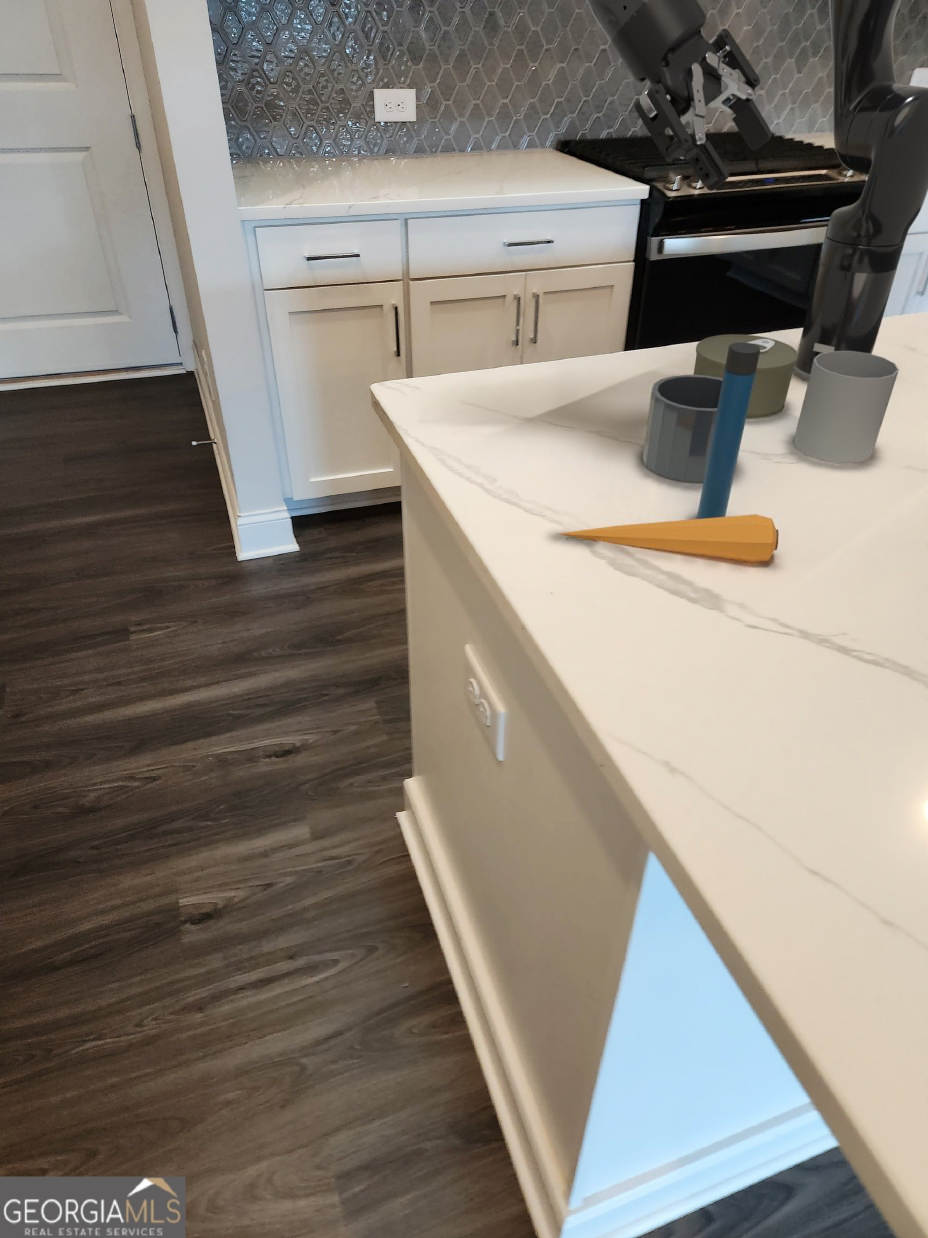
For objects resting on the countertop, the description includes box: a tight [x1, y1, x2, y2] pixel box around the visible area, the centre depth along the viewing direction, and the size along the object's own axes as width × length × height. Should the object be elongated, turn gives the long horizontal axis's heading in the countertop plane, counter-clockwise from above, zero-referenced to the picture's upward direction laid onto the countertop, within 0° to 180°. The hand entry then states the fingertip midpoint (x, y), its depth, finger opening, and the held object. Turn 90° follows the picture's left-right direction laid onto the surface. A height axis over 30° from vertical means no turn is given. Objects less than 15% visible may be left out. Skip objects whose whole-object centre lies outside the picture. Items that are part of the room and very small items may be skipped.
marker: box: [696, 342, 760, 519], centre depth 76 cm, size 3×3×18 cm
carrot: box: [558, 513, 780, 563], centre depth 77 cm, size 20×4×4 cm, turn 77°
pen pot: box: [642, 374, 723, 484], centre depth 88 cm, size 10×10×8 cm
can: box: [692, 333, 798, 420], centre depth 103 cm, size 12×12×7 cm
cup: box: [793, 351, 900, 465], centre depth 91 cm, size 8×8×10 cm
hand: (742, 163), depth 78 cm, fingers open, 8 cm apart
